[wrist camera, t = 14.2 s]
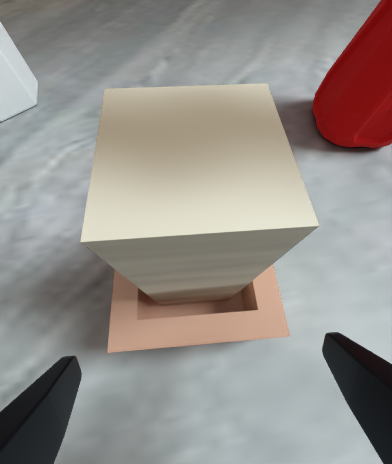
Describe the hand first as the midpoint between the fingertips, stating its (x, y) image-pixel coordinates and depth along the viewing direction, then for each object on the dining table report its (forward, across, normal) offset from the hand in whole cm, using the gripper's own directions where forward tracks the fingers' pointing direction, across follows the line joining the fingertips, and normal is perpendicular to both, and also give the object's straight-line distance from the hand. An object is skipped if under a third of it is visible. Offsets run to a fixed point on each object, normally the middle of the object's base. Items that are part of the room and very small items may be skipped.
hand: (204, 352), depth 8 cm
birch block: (+9, 0, +2) cm, 9 cm away
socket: (+10, 0, +2) cm, 10 cm away
